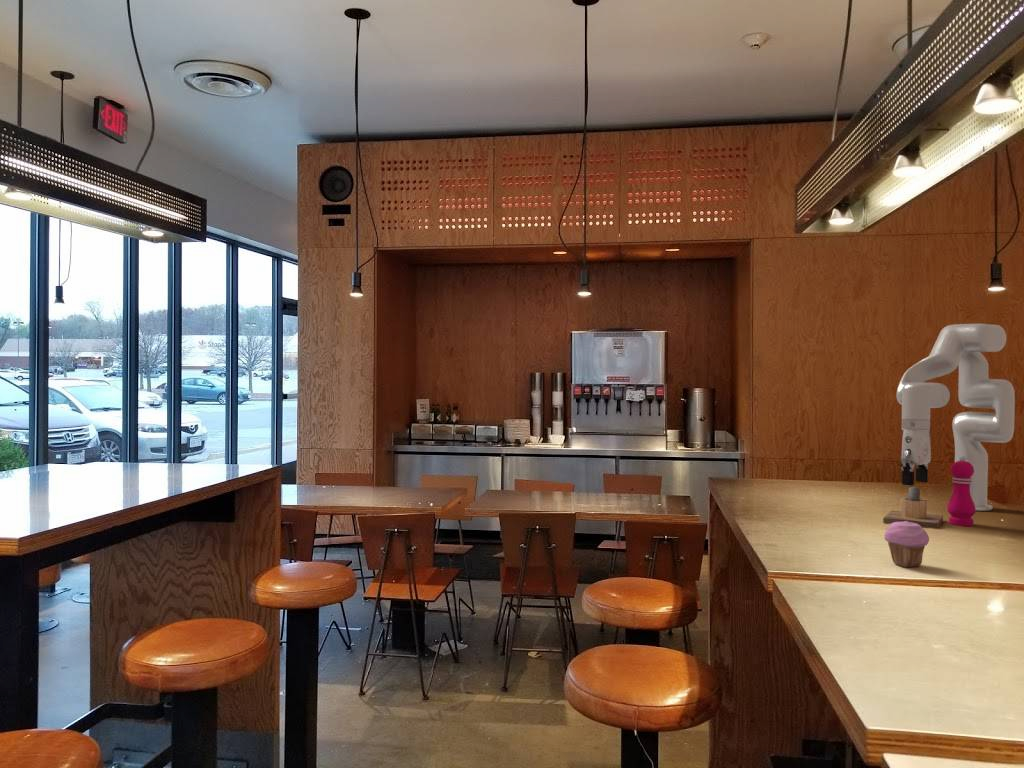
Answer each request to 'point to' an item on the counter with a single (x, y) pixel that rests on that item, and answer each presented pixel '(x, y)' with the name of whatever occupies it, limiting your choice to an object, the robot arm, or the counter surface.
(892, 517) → the keyed shaft block
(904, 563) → the cupcake
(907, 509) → the pale wooden collar
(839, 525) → the counter surface
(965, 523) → the pepper mill
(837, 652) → the counter surface
